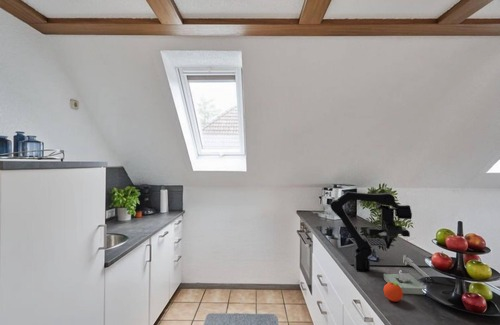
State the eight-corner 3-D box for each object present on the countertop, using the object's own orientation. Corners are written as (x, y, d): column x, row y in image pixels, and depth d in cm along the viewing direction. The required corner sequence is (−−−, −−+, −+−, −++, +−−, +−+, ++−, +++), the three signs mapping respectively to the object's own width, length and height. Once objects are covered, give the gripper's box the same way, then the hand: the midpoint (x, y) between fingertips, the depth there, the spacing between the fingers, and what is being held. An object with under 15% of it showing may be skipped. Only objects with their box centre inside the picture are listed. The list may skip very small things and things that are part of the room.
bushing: (401, 288, 116) (400, 272, 116) (397, 283, 120) (396, 268, 120) (410, 288, 115) (410, 272, 115) (406, 284, 119) (406, 268, 119)
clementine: (399, 295, 109) (398, 278, 109) (409, 304, 102) (409, 286, 102) (380, 296, 109) (379, 279, 109) (389, 305, 102) (389, 287, 102)
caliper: (402, 264, 144) (402, 252, 144) (404, 264, 144) (404, 252, 144) (429, 280, 123) (428, 267, 123) (431, 280, 123) (431, 267, 123)
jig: (396, 293, 111) (396, 287, 111) (383, 278, 125) (383, 273, 125) (426, 294, 110) (426, 288, 110) (410, 279, 124) (410, 274, 124)
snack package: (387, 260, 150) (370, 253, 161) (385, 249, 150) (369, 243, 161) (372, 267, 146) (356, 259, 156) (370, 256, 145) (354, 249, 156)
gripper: (372, 220, 127) (372, 252, 127) (414, 222, 123) (414, 255, 123) (366, 216, 138) (366, 245, 138) (405, 217, 134) (405, 247, 134)
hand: (387, 248), depth 133 cm, fingers closed
